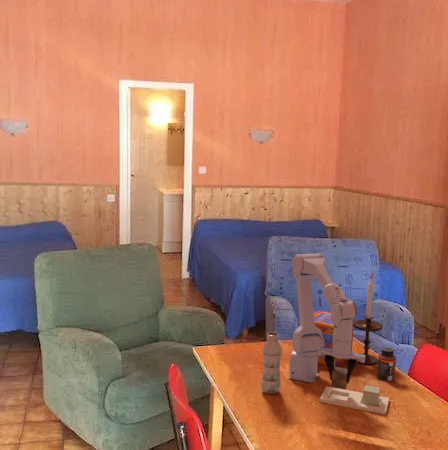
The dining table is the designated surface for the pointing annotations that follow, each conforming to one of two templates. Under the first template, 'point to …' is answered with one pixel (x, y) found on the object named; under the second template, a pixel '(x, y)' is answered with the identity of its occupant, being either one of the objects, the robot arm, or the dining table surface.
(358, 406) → the base board
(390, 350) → the supplement bottle
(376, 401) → the sage block
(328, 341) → the game box
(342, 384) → the walnut block
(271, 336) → the plastic bottle
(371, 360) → the candlestick
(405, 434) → the dining table surface
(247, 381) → the dining table surface
